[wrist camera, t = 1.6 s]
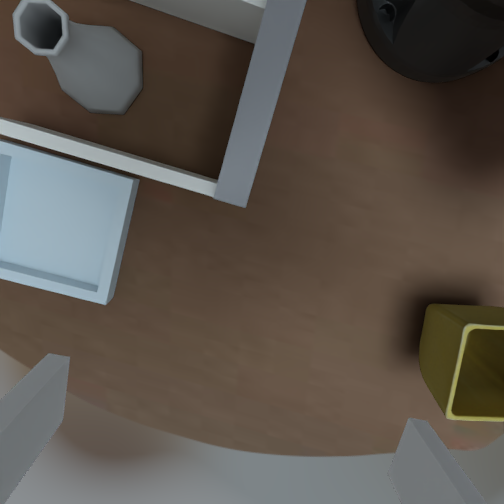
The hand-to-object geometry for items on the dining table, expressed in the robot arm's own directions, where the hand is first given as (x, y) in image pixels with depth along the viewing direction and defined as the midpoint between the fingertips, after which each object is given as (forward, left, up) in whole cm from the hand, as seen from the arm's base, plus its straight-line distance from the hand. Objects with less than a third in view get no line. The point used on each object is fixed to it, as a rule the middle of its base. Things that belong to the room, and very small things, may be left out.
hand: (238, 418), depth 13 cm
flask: (-13, -16, -22) cm, 30 cm away
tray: (+1, -17, -22) cm, 28 cm away
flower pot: (+1, +23, -22) cm, 32 cm away
